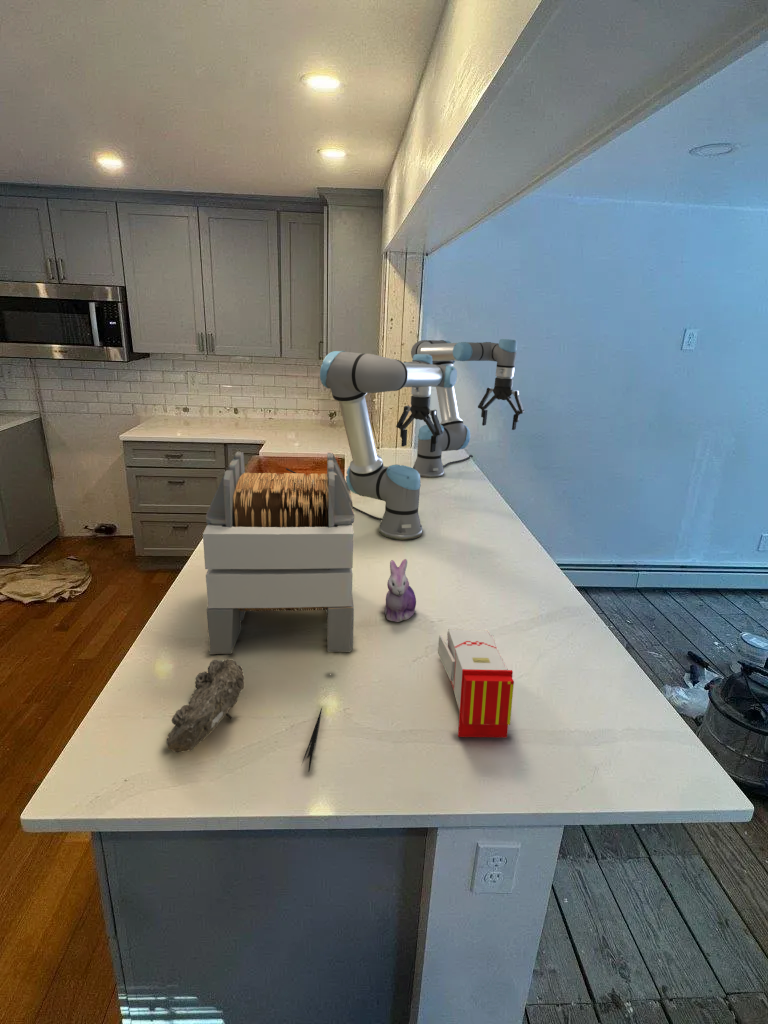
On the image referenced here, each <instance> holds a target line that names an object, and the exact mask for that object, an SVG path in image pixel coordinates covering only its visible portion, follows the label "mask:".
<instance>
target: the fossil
mask: <svg viewBox="0 0 768 1024" xmlns="http://www.w3.org/2000/svg"><path fill="white" fill-rule="evenodd" d="M243 670H244V669H243V667H242V665H240V664H237V662H236V661H235V660H234V659H232V658H231V659H227V658H226V659H224V660H223V661H222V660H217V659H212V660H211V661H210V663H209V665H208V666H207V671H201V672H199V673H198V674H197V675H196V676H195V680H194V684H195V685H194V687H195V689H194V690H193V693H192V694H191V697H190V698H189V700H188V704H184V705H182V706H181V707H180V709H177V710H176V711H175V713H174V715H173V716H172V718H171V723H172V724H173V727H172V730H171V731H170V732H168V734H167V738H166V741H167V742H166V745H167V749H168V750H169V751H173V752H174V753H176V754H178V753H182V752H188V751H189V752H192V751H193V750H195V748H196V747H197V746H199V744H200V743H201V742H203V741H204V740H205V739H206V738H207V737H208V736H209V735H210V734H211V733H212V732H214V730H215V729H217V727H218V726H219V724H220V722H221V721H222V720H223V719H224V718H225V716H226V717H227V719H229V720H233V717H232V715H230V714H229V710H230V709H231V708H234V706H235V704H236V703H237V702H238V699H239V697H240V695H241V693H242V691H243V690H245V689H244V688H245V675H244V671H243Z"/></svg>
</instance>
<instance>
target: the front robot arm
mask: <svg viewBox="0 0 768 1024" xmlns="http://www.w3.org/2000/svg"><path fill="white" fill-rule="evenodd" d="M411 360H412V361H401V360H400V359H397V358H390V357H386V356H381V355H378V354H373V353H363V352H353V351H352V352H350V351H345V350H333V351H330V352H329V353H327V354H326V356H325V357H324V358H323V361H322V362H321V365H320V370H319V379H320V383H321V384H322V386H323V387H325V388H326V389H330V391H331V395H332V399H333V400H334V401H336V402H337V403H338V404H339V408H340V413H341V417H342V420H343V425H344V426H343V427H344V430H345V434H346V438H347V443H348V446H349V450H350V451H349V452H350V455H351V459H352V460H351V462H350V463H349V466H348V467H347V470H346V476H345V481H346V483H347V485H348V487H349V489H350V491H351V493H353V494H355V495H358V496H361V497H366V498H371V499H373V500H379V501H382V502H385V504H384V505H385V507H384V508H385V509H384V513H383V515H382V517H378V516H375V515H372V514H370V513H368V512H365V511H363V510H361V509H359V508H357V507H355V506H353V510H355V511H357V512H359V513H361V514H363V515H366V516H368V517H370V518H372V519H375V520H377V521H381V522H379V525H378V533H379V534H380V535H381V536H382V537H385V538H387V539H389V540H395V541H410V540H415V539H418V538H420V537H421V536H422V535H423V525H422V524H421V518H420V515H419V507H420V506H419V505H420V496H421V495H420V494H421V493H420V492H421V486H422V485H421V476H420V474H419V473H418V471H417V470H415V469H413V467H411V466H408V465H403V464H401V465H400V464H391V465H388V466H386V467H388V468H386V467H384V466H385V465H384V462H383V458H382V457H381V456H380V455H379V454H377V453H378V452H377V450H376V444H375V439H374V434H373V429H372V425H371V420H370V419H371V418H370V415H369V410H368V409H369V408H368V405H367V401H366V396H367V394H377V393H387V392H397V391H400V390H402V389H404V388H411V394H410V395H411V396H410V405H409V404H408V405H404V406H403V410H402V413H401V415H400V417H399V419H398V421H397V422H396V426H395V427H396V429H399V431H400V433H399V437H400V438H401V445H400V446H401V447H406V446H407V444H408V429H407V428H408V426H409V425H410V424H411V423H412V422H413V421H414V420H419V421H423V422H424V423H425V425H427V426H428V428H429V429H430V431H431V433H432V434H433V435H432V436H431V447H430V452H434V451H435V448H436V444H437V443H438V435H441V434H443V431H442V428H441V426H440V423H441V422H440V420H439V416H438V410H437V409H430V407H431V394H432V387H433V388H436V387H444V388H446V387H447V388H451V387H453V386H454V387H455V385H456V383H457V379H458V371H457V368H456V367H454V366H453V367H452V366H448V365H446V366H445V365H434V364H432V356H431V355H428V354H415V355H414V356H413V359H411ZM409 413H411V414H410V415H409ZM408 415H409V416H408ZM407 417H408V418H407ZM285 470H286V471H288V472H290V473H297V472H295V471H293V470H292V469H290V468H288V467H285Z"/></svg>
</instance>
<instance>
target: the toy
mask: <svg viewBox="0 0 768 1024" xmlns="http://www.w3.org/2000/svg"><path fill="white" fill-rule="evenodd" d="M446 640H447V643H446V641H445V639H444V636H443V635H442V634H439V637H438V646H437V656H438V657H439V659H440V661H441V663H442V666H443V668H444V670H445V672H446V674H447V677H448V679H449V681H450V684H451V687H452V690H453V693H454V697H455V701H456V705H457V708H458V711H459V714H458V715H459V716H458V730H457V731H458V732H457V737H458V738H508V731H509V726H510V725H511V717H512V707H513V697H514V696H513V695H514V684H515V680H514V679H513V673H514V671H513V670H512V669H508V667H507V665H506V662H505V661H504V659H503V658H502V655H501V653H500V651H499V649H498V647H497V643H496V639H495V637H494V635H493V634H491V632H490V631H489V629H467V628H466V629H465V628H463V629H461V628H460V629H459V628H448V630H447V639H446Z"/></svg>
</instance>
